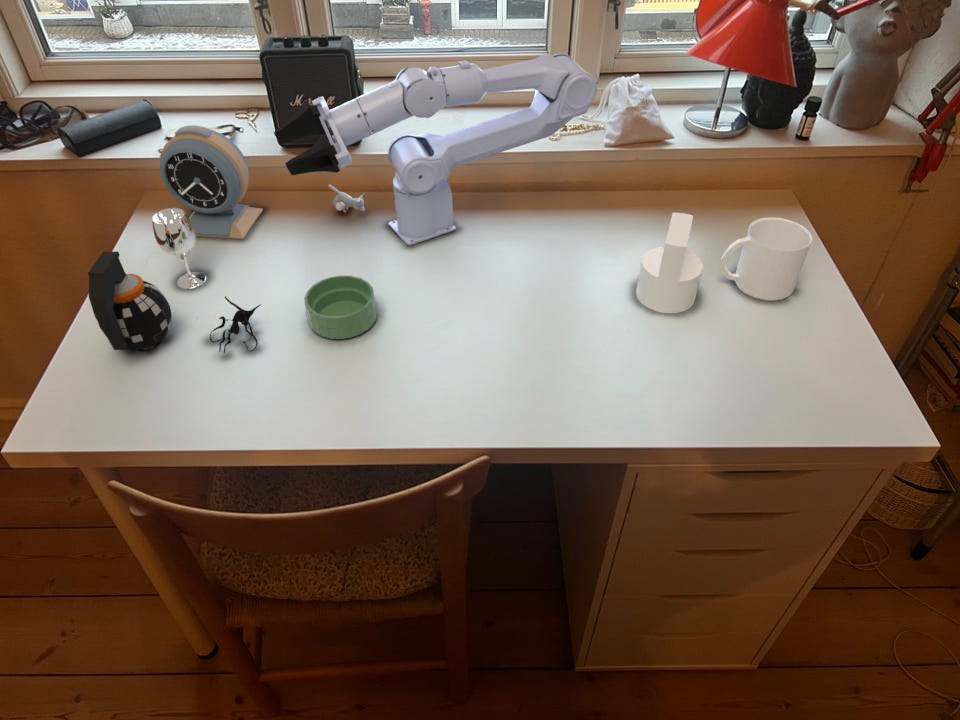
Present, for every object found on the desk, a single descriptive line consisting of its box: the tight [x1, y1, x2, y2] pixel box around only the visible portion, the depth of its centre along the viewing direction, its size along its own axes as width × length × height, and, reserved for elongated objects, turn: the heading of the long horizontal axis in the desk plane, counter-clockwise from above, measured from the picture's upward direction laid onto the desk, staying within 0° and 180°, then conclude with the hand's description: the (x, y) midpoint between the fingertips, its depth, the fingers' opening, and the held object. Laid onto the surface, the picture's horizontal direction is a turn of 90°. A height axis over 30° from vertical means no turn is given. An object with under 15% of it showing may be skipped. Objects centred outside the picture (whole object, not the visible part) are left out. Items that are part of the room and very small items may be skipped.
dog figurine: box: [327, 183, 366, 214], centre depth 126 cm, size 3×8×6 cm
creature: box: [209, 296, 263, 354], centre depth 101 cm, size 8×5×8 cm
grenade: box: [87, 251, 173, 352], centre depth 96 cm, size 11×10×15 cm
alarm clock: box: [159, 124, 264, 240], centre depth 120 cm, size 14×10×18 cm
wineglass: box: [151, 207, 207, 290], centre depth 109 cm, size 6×6×12 cm
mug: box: [719, 216, 813, 302], centre depth 108 cm, size 12×9×9 cm
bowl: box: [303, 274, 378, 340], centre depth 104 cm, size 10×10×4 cm
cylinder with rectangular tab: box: [635, 211, 704, 314], centre depth 105 cm, size 9×9×12 cm
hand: (282, 153), depth 106 cm, fingers open, 7 cm apart
